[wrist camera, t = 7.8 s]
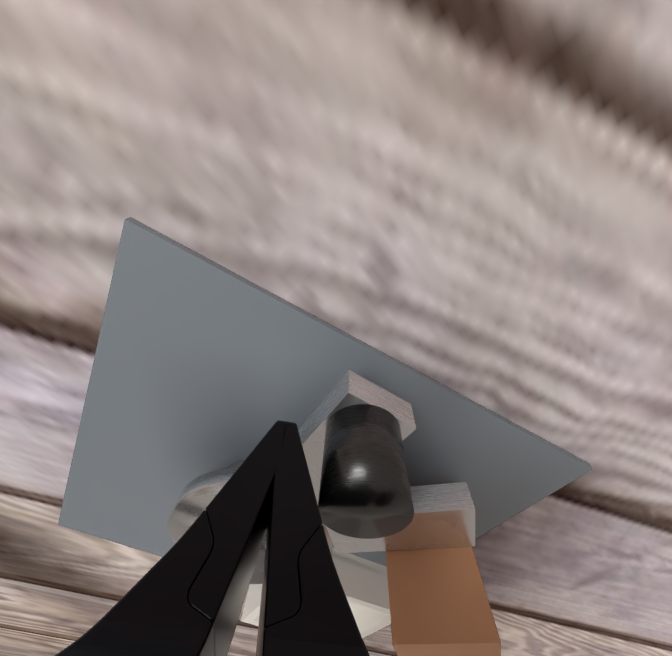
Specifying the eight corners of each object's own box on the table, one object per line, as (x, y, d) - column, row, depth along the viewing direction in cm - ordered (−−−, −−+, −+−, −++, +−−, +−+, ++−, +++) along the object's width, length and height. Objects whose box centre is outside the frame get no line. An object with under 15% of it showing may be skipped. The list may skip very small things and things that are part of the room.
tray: (342, 609, 25) (341, 649, 23) (250, 581, 23) (240, 621, 21) (402, 572, 22) (407, 615, 20) (298, 535, 20) (292, 578, 18)
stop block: (392, 533, 19) (406, 676, 14) (380, 495, 17) (392, 644, 12) (458, 528, 18) (500, 676, 13) (454, 488, 17) (500, 642, 11)
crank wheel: (217, 558, 19) (186, 652, 15) (94, 406, 13) (-5, 504, 9) (467, 545, 16) (497, 651, 13) (463, 353, 10) (518, 455, 7)
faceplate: (349, 609, 26) (348, 666, 23) (61, 520, 21) (15, 578, 18) (589, 463, 15) (642, 534, 13) (130, 217, 11) (47, 242, 8)
